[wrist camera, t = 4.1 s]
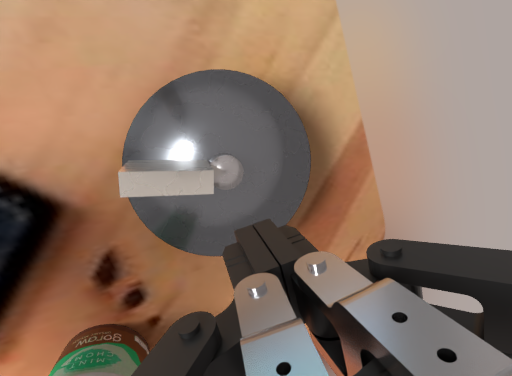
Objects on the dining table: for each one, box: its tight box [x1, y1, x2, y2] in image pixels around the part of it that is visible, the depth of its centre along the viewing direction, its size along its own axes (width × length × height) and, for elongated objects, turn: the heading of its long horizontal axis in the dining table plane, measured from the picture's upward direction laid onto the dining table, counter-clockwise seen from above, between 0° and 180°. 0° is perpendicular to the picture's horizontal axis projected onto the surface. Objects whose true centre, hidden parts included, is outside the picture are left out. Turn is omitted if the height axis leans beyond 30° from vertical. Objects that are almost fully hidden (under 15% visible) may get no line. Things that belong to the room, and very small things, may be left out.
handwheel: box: [118, 70, 311, 256], centre depth 27 cm, size 17×17×7 cm
